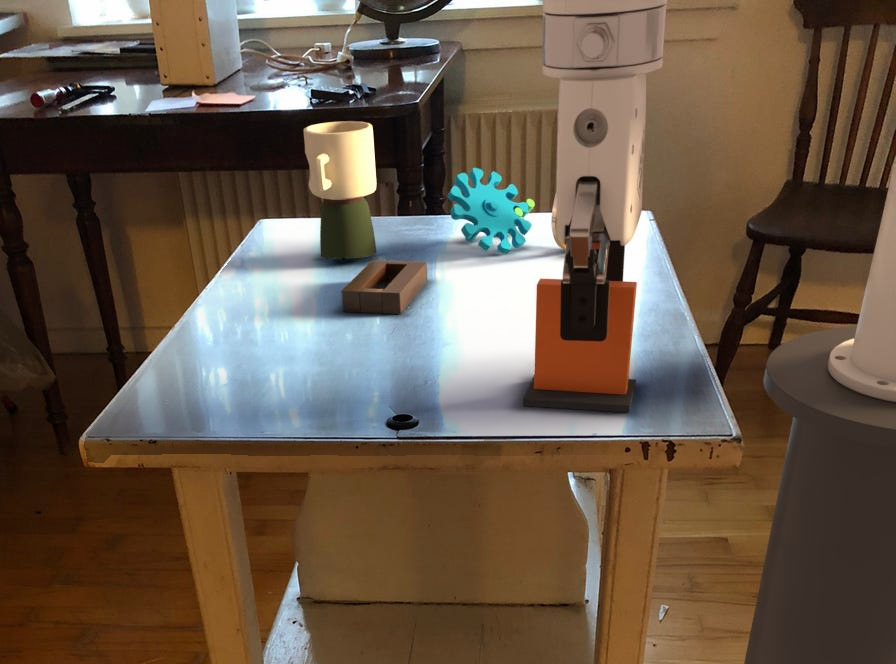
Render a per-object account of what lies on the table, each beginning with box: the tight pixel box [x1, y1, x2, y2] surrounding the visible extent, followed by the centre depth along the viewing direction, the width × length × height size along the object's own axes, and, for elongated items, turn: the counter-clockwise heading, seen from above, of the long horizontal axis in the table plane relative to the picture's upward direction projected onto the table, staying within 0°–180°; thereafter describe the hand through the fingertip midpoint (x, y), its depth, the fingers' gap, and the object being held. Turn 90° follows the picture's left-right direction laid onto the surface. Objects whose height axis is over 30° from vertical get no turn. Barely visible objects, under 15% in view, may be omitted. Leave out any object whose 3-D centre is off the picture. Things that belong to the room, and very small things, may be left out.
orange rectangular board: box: [533, 278, 638, 395], centre depth 72 cm, size 1×7×8 cm, turn 74°
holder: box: [340, 259, 429, 315], centre depth 96 cm, size 6×10×2 cm, turn 164°
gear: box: [447, 167, 536, 255], centre depth 108 cm, size 11×6×10 cm
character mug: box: [303, 120, 378, 263], centre depth 103 cm, size 11×7×13 cm, turn 158°
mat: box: [522, 375, 637, 414], centre depth 75 cm, size 8×5×1 cm, turn 74°
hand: (592, 314), depth 71 cm, fingers open, 9 cm apart
